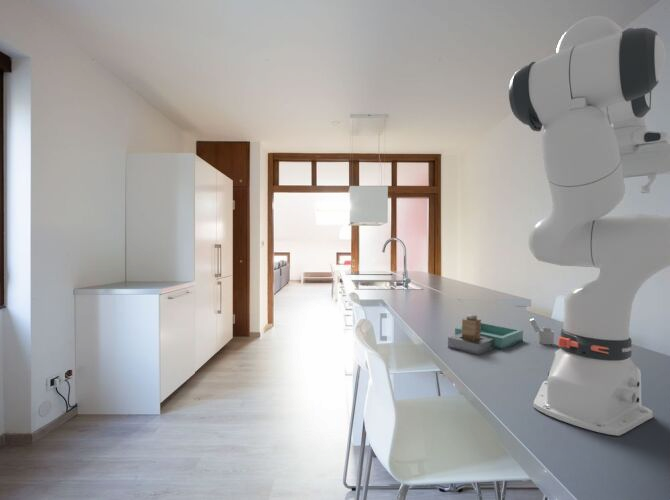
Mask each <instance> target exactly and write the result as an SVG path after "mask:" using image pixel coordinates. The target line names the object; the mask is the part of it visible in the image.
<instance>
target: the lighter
mask: <svg viewBox="0 0 670 500" xmlns="http://www.w3.org/2000/svg"><path fill="white" fill-rule="evenodd" d="M528 320H529V322H530V324H531V326H532V328H533V330H534V332H535V333H537V332H538V343H539V344H540V343H541V344H542V345H550V344H552V345H551V346H554V345H555V331H554V330H552V328H550V327H544V326H543V327H542V329H540V328H539V326H538V324H537V322H536V320H535V318H534V317H532V318H530V319H528Z"/></svg>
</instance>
